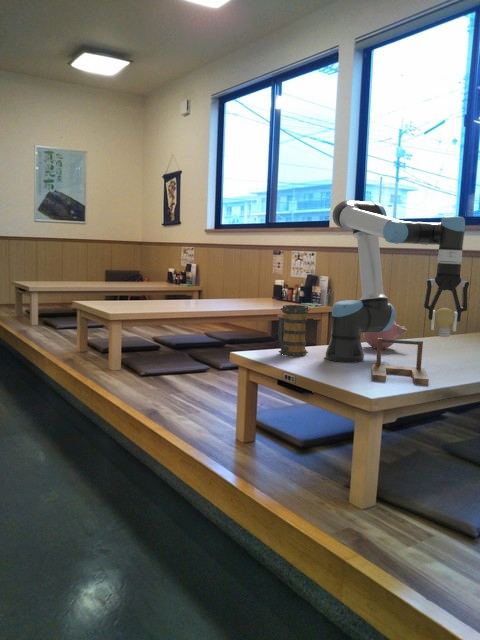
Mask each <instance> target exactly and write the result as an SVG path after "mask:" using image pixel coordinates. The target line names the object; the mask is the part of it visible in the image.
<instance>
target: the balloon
mask: <svg viewBox="0 0 480 640" xmlns="http://www.w3.org/2000/svg"><path fill="white" fill-rule="evenodd" d="M408 332H409V329H407V328H406V326H404V325H402V326H400V325H399V324H397V322H396V320H395V321H394V324H393V325H392V327H391V328H390V329H389V330H387V331H381V332H362V334H363V335H362V336H363V338H364V340H365V342H366V343H367V344H368V346H370V347H372V348H375V349H377V344H378V338H382V339H390V340H398V337H399V336H401V335H402V336H403V335H404V334H405V333H408ZM394 344H395V343H385V342H382V350H383V349H387V348H389V347H392V346H393V345H394Z"/></svg>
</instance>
